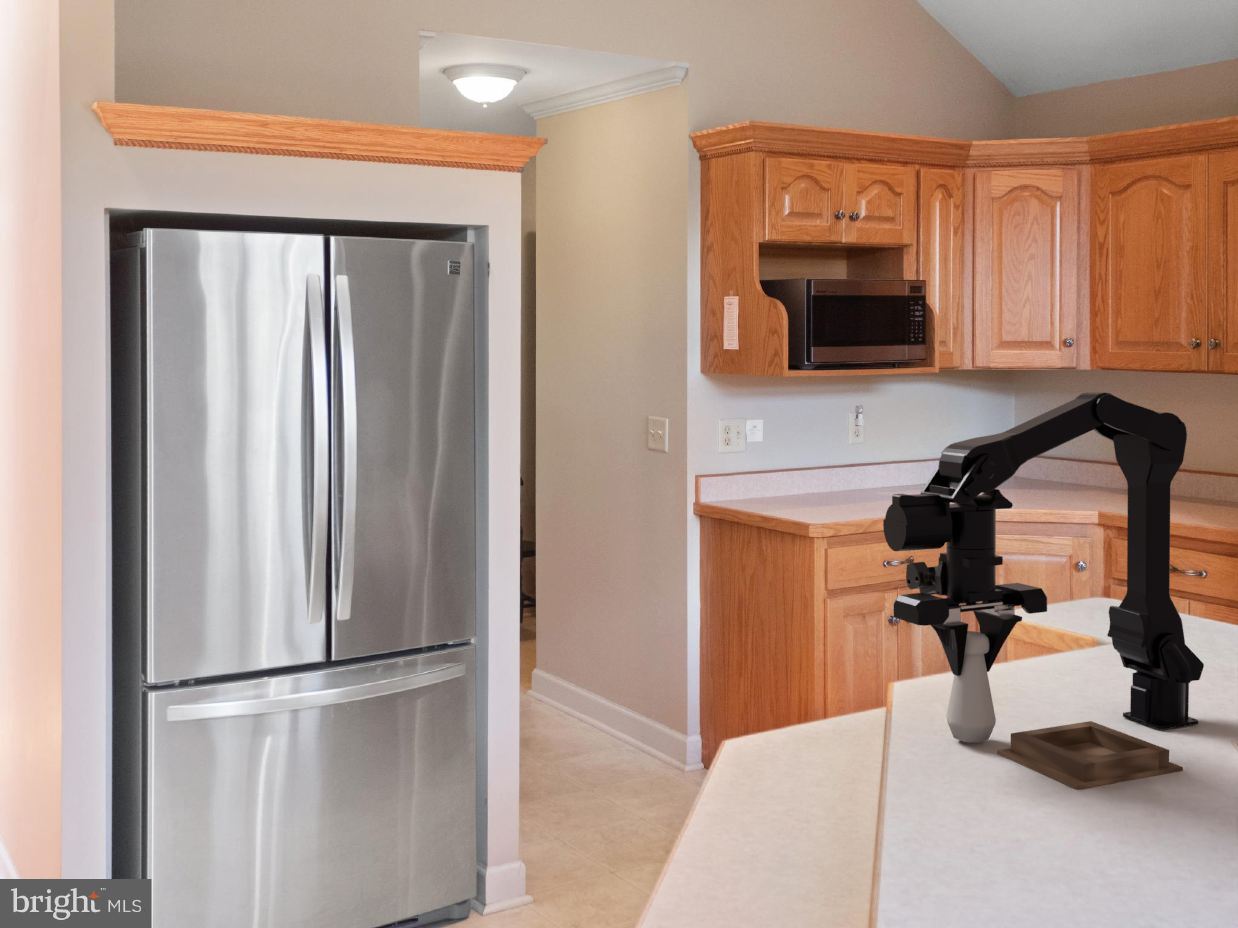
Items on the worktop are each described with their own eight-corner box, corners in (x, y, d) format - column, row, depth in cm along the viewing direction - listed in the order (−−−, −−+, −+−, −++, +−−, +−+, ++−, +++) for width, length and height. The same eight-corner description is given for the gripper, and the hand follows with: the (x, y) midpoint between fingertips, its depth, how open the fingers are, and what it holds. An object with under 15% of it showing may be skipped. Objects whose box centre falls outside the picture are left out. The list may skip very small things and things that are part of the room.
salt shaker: (998, 745, 138) (998, 638, 137) (948, 744, 139) (948, 637, 138) (992, 731, 143) (992, 628, 142) (944, 729, 144) (944, 627, 144)
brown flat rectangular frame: (1097, 737, 142) (1097, 718, 141) (1182, 770, 129) (1183, 749, 129) (997, 753, 136) (997, 733, 136) (1076, 789, 124) (1076, 767, 124)
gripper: (990, 533, 150) (990, 651, 151) (867, 543, 144) (868, 666, 145) (1050, 544, 140) (1050, 670, 141) (920, 555, 133) (921, 688, 134)
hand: (970, 673), depth 140 cm, fingers closed on salt shaker, 4 cm apart
